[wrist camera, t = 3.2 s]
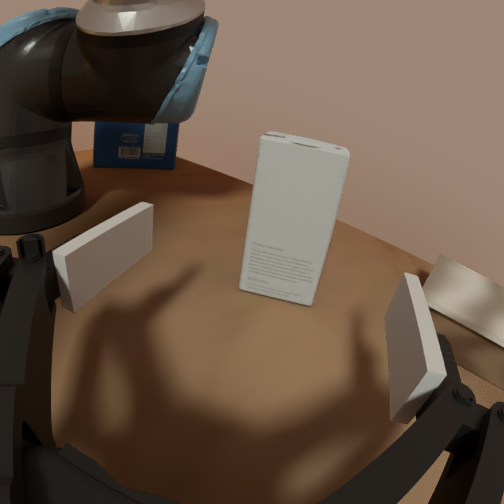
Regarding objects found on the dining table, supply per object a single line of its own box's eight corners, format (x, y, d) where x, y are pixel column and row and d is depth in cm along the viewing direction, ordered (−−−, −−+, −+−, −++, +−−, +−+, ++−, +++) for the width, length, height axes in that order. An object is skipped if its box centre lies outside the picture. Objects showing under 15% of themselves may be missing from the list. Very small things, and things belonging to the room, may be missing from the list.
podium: (398, 335, 23) (418, 293, 21) (425, 286, 30) (440, 254, 29) (520, 403, 16) (549, 366, 14) (519, 337, 24) (537, 306, 22)
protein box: (104, 155, 59) (109, 82, 52) (175, 158, 63) (184, 84, 56) (91, 167, 50) (96, 81, 43) (175, 170, 54) (185, 83, 47)
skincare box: (313, 281, 28) (349, 146, 22) (311, 311, 24) (356, 154, 19) (246, 265, 29) (270, 128, 23) (233, 292, 25) (259, 132, 19)
